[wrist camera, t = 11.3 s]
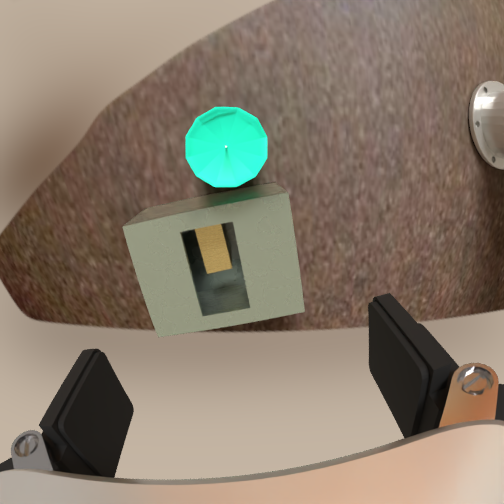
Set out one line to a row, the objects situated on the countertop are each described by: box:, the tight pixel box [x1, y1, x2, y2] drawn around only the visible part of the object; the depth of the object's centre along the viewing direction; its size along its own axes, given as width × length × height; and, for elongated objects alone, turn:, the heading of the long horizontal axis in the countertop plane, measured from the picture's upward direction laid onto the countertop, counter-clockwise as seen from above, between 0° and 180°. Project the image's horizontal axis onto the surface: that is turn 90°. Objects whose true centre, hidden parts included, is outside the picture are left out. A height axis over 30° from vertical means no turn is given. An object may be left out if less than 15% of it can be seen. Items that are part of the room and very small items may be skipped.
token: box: [195, 223, 232, 274], centre depth 31 cm, size 2×5×5 cm
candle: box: [186, 107, 267, 187], centre depth 26 cm, size 6×6×12 cm
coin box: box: [123, 182, 305, 337], centre depth 31 cm, size 14×11×8 cm
